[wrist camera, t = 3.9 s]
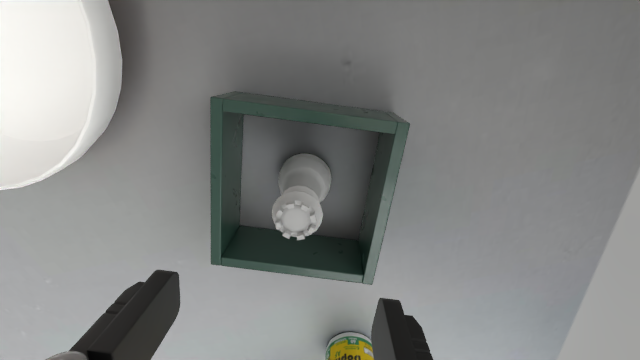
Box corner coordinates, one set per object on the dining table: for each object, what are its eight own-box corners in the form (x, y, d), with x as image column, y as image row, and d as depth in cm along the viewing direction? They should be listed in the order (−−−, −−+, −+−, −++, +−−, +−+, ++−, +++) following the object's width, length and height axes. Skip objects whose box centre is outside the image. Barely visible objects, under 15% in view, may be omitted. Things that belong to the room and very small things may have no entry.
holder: (394, 112, 23) (410, 123, 19) (365, 248, 28) (372, 285, 23) (234, 91, 23) (209, 96, 18) (230, 231, 27) (210, 264, 23)
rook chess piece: (342, 175, 25) (348, 220, 18) (307, 210, 26) (299, 266, 19) (303, 140, 24) (291, 172, 17) (269, 178, 25) (243, 223, 18)
